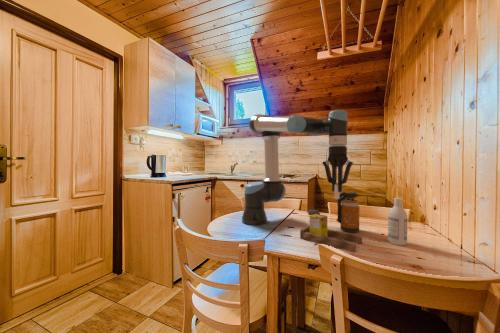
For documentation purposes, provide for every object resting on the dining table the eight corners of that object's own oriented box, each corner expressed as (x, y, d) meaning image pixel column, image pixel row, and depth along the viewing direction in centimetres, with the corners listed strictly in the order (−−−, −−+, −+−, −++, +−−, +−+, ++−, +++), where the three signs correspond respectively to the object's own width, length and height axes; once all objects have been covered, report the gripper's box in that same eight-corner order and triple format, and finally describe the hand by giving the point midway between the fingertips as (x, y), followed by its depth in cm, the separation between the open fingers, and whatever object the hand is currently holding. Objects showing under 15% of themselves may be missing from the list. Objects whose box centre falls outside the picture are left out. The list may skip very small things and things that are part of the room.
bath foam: (402, 240, 98) (403, 197, 97) (410, 246, 91) (411, 199, 91) (385, 239, 100) (386, 196, 99) (391, 245, 93) (392, 199, 92)
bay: (295, 237, 103) (295, 213, 103) (308, 229, 115) (309, 208, 114) (355, 252, 86) (355, 224, 86) (363, 240, 98) (364, 216, 97)
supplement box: (327, 238, 101) (327, 215, 100) (320, 242, 97) (320, 218, 96) (316, 235, 105) (316, 213, 105) (309, 238, 101) (309, 215, 101)
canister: (361, 233, 107) (362, 193, 106) (338, 232, 109) (338, 193, 109) (356, 228, 116) (356, 191, 115) (334, 226, 118) (335, 190, 117)
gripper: (320, 146, 97) (319, 198, 98) (351, 145, 88) (350, 202, 89) (326, 146, 102) (325, 196, 103) (355, 145, 94) (354, 199, 95)
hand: (336, 198), depth 96 cm, fingers closed
